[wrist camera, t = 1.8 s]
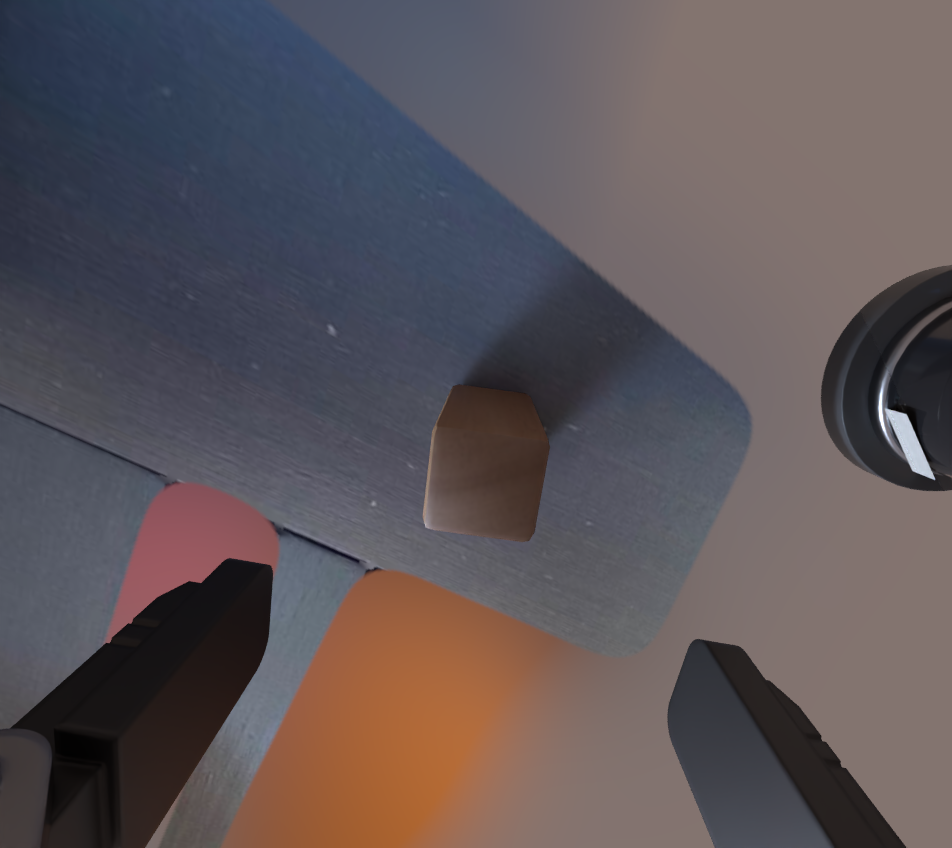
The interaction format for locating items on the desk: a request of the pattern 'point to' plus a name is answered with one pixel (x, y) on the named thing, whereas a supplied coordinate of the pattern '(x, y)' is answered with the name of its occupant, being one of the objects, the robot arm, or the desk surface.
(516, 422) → the wooden block
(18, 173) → the desk surface
